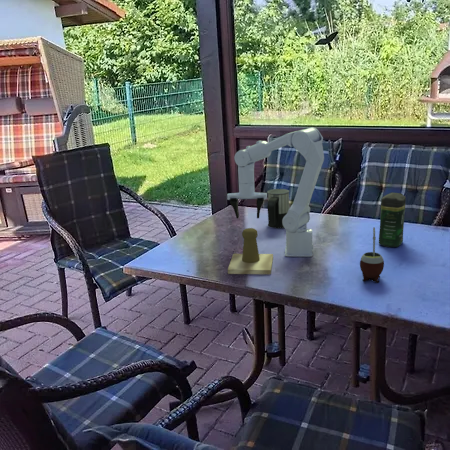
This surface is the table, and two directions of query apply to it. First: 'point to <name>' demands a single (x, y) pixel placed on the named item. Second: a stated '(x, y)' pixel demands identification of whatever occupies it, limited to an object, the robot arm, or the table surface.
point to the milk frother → (277, 207)
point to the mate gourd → (372, 264)
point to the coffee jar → (392, 220)
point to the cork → (250, 246)
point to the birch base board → (251, 265)
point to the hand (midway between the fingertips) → (247, 217)
